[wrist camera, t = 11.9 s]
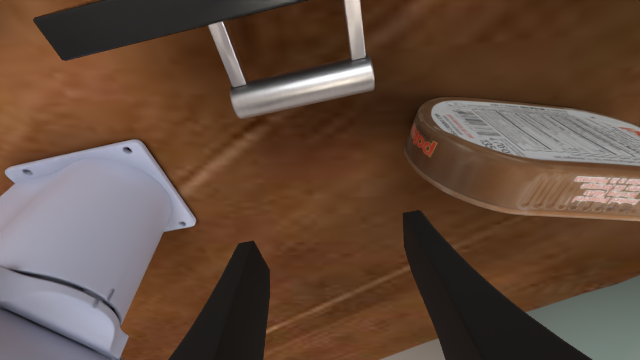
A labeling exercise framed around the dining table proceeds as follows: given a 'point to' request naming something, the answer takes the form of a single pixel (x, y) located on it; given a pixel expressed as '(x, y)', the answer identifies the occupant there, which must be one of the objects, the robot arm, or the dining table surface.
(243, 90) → the drawer
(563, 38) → the dining table surface
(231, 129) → the dining table surface
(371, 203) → the dining table surface
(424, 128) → the tin
